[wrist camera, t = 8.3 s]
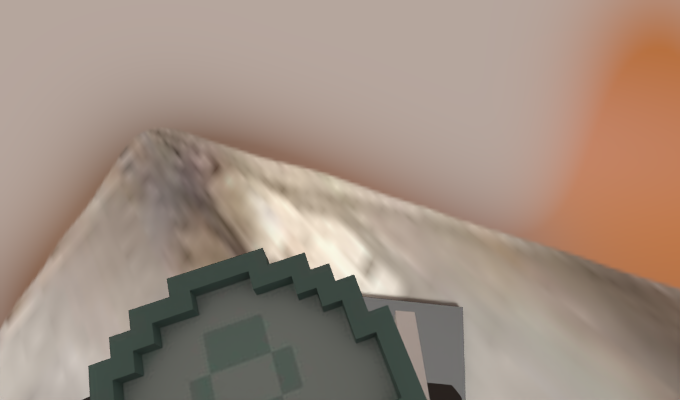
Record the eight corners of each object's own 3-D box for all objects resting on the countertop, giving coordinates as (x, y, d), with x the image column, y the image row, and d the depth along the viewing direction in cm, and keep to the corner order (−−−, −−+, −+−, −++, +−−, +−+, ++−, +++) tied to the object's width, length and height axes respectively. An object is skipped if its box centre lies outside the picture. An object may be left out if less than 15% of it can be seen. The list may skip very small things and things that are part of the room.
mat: (461, 309, 37) (462, 307, 36) (464, 441, 32) (466, 441, 32) (345, 296, 38) (345, 294, 37) (331, 425, 33) (331, 424, 32)
